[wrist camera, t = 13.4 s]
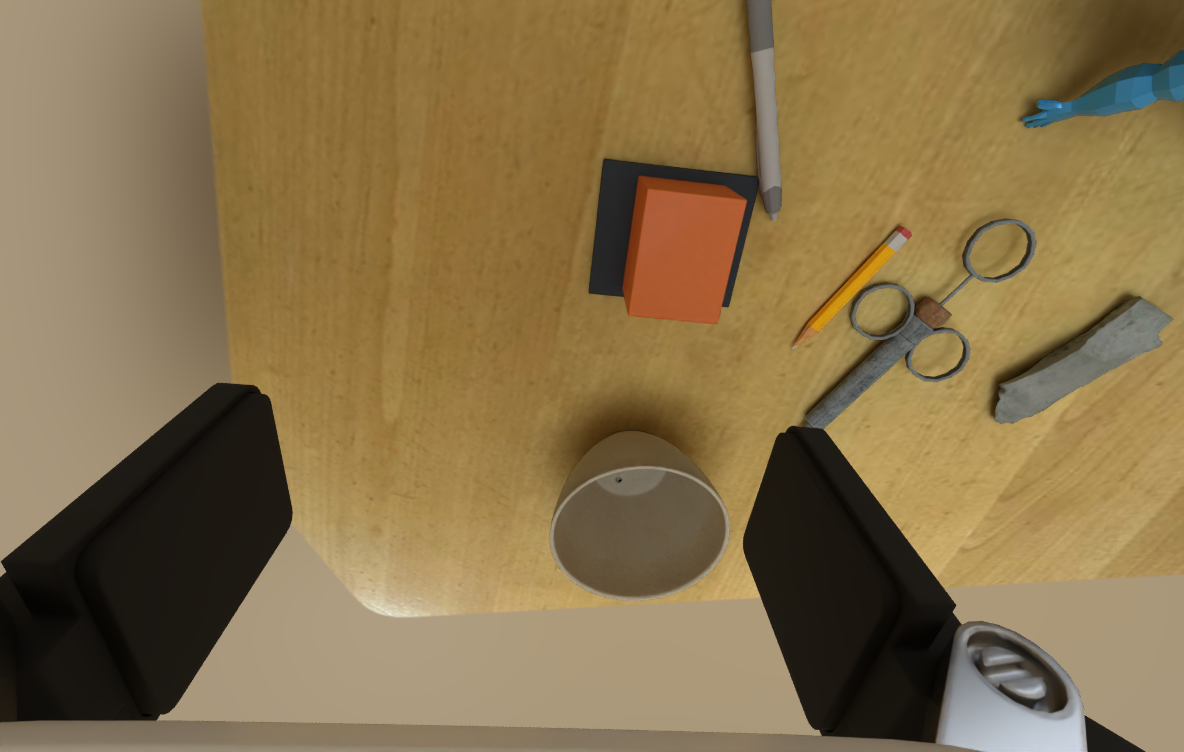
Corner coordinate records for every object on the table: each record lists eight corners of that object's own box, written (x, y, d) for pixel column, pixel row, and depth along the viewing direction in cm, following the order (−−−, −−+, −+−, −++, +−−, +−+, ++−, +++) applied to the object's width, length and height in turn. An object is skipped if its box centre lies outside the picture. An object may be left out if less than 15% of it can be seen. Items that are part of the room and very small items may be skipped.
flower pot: (710, 503, 38) (737, 587, 31) (572, 526, 38) (571, 612, 32) (695, 383, 33) (723, 452, 27) (538, 411, 34) (529, 486, 27)
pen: (758, 218, 28) (767, 224, 27) (730, -125, 21) (739, -138, 20) (778, 214, 28) (787, 219, 27) (755, -132, 21) (766, -146, 20)
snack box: (638, 175, 27) (647, 188, 23) (725, 185, 27) (747, 199, 23) (622, 289, 29) (627, 316, 26) (701, 297, 30) (717, 324, 26)
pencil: (914, 236, 28) (907, 228, 28) (798, 355, 31) (790, 350, 31) (905, 231, 29) (898, 224, 28) (792, 349, 32) (784, 344, 32)
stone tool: (973, 390, 33) (989, 423, 36) (994, 408, 32) (1009, 441, 35) (1146, 278, 30) (1148, 325, 33) (1177, 294, 29) (1176, 341, 32)
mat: (588, 291, 30) (588, 293, 30) (603, 158, 27) (604, 159, 26) (727, 305, 30) (728, 307, 30) (758, 176, 27) (760, 177, 27)
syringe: (828, 492, 35) (821, 477, 36) (1089, 272, 27) (1066, 265, 29) (736, 428, 34) (733, 415, 35) (982, 181, 26) (964, 178, 28)
